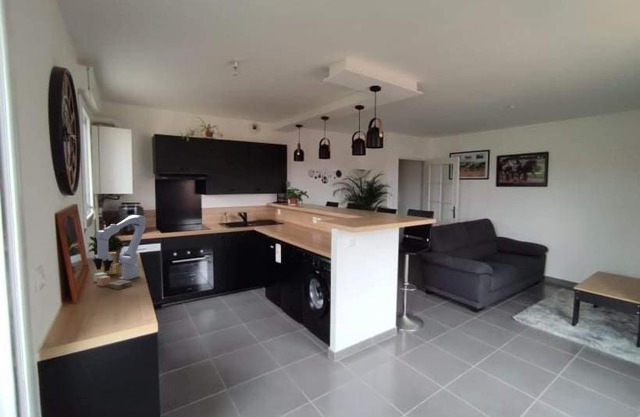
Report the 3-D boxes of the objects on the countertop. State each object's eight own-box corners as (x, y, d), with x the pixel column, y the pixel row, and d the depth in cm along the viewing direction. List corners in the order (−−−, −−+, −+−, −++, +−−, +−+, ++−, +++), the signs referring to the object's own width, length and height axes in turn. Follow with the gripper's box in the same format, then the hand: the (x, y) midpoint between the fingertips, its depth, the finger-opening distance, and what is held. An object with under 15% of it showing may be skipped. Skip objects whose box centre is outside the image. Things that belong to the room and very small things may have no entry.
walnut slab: (121, 284, 197) (121, 279, 197) (131, 286, 194) (131, 281, 194) (107, 287, 188) (107, 283, 188) (118, 290, 185) (118, 285, 185)
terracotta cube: (104, 283, 196) (104, 275, 196) (110, 284, 195) (110, 276, 194) (96, 285, 192) (96, 277, 192) (102, 286, 190) (102, 278, 190)
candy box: (115, 272, 220) (115, 251, 220) (116, 273, 217) (116, 252, 216) (100, 274, 215) (100, 252, 214) (101, 275, 212) (101, 254, 211)
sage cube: (101, 279, 203) (101, 272, 203) (106, 280, 202) (106, 273, 201) (93, 281, 199) (93, 274, 198) (99, 282, 197) (99, 275, 197)
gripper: (88, 249, 190) (88, 270, 191) (104, 251, 185) (104, 273, 186) (100, 247, 197) (100, 267, 198) (115, 249, 192) (115, 270, 193)
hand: (102, 270), depth 192 cm, fingers open, 7 cm apart
